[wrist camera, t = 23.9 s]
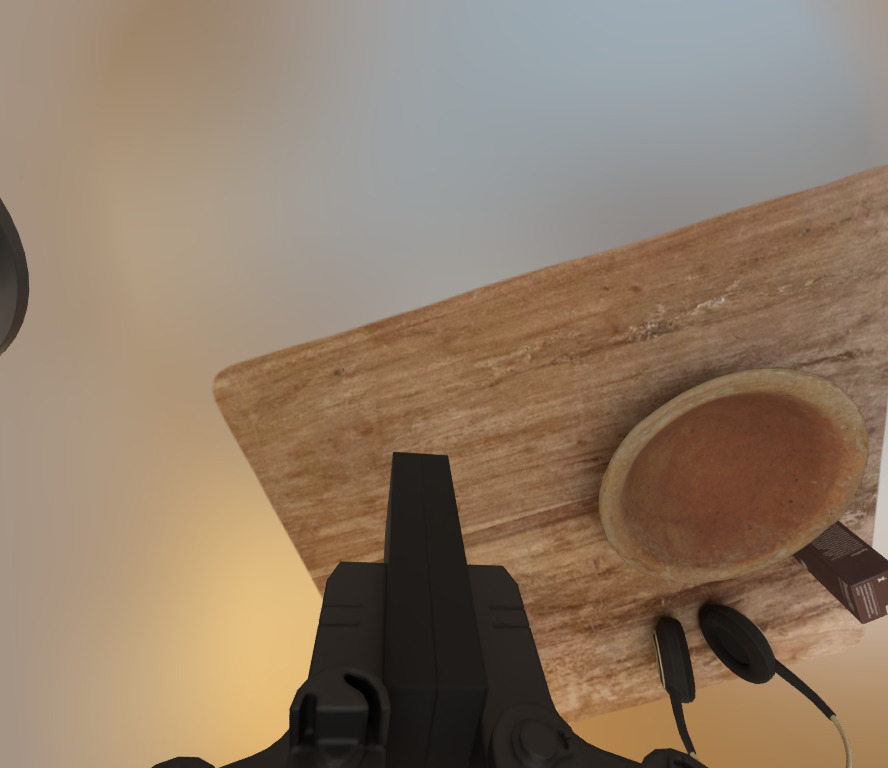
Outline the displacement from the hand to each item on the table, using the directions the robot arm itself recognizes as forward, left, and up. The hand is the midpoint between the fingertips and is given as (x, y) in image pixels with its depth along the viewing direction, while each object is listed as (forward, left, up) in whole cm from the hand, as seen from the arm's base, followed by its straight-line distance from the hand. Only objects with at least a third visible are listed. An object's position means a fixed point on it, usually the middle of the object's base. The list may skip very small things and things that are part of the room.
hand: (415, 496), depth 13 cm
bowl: (+25, -22, -30) cm, 45 cm away
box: (+36, -33, -30) cm, 57 cm away
